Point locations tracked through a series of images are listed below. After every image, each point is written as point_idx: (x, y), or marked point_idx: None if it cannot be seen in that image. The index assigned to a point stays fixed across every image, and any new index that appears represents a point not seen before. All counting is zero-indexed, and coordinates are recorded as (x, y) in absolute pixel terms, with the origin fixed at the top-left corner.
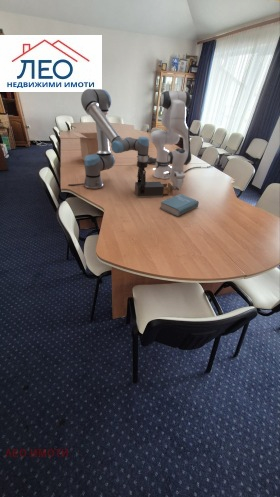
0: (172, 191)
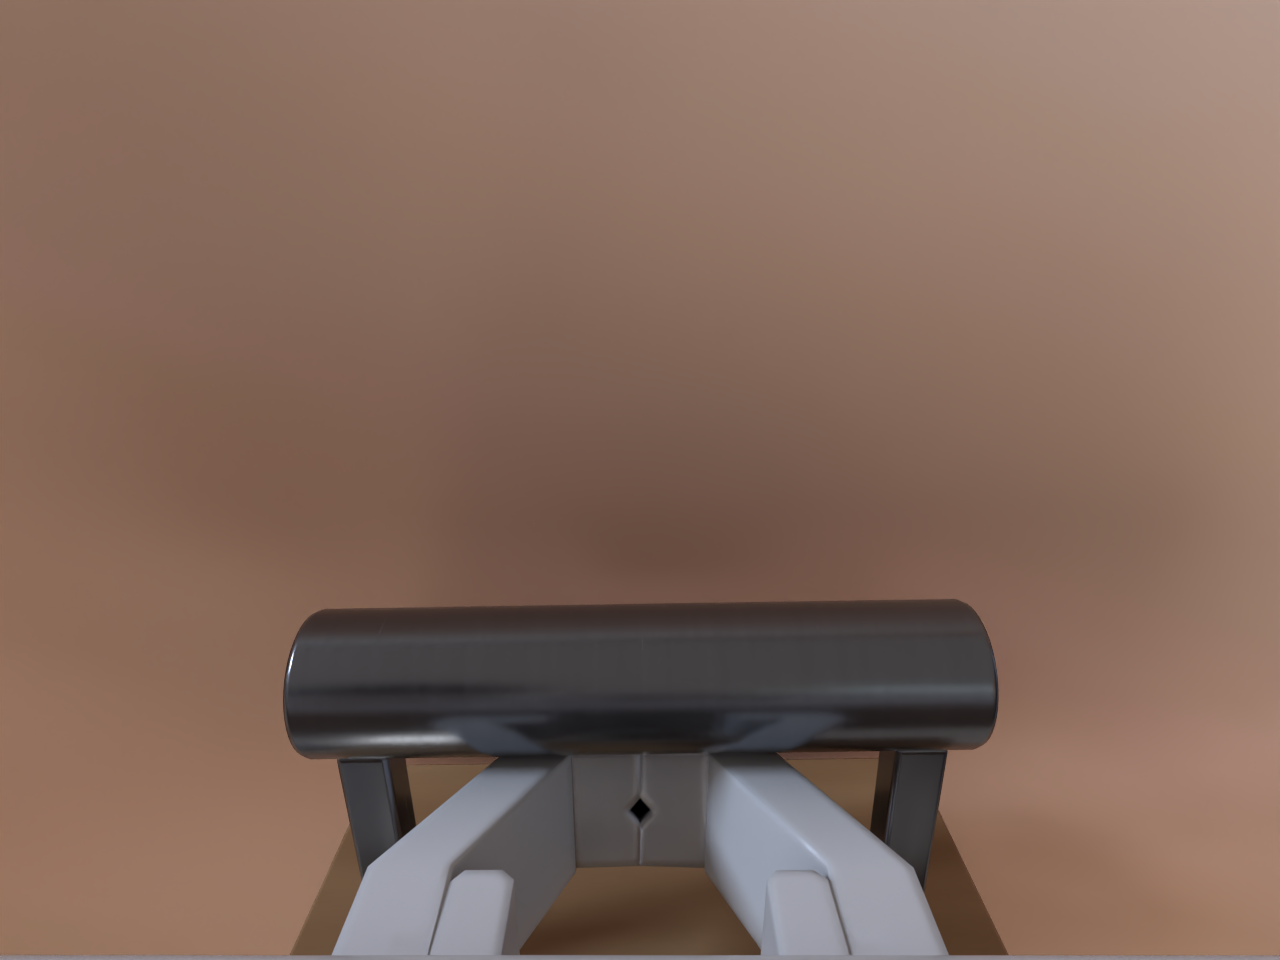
0: (970, 900)
